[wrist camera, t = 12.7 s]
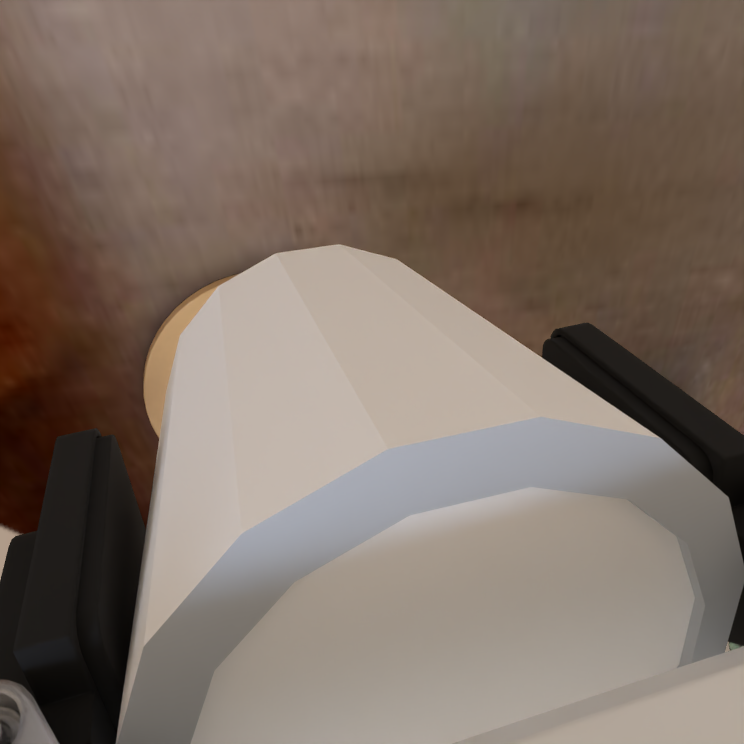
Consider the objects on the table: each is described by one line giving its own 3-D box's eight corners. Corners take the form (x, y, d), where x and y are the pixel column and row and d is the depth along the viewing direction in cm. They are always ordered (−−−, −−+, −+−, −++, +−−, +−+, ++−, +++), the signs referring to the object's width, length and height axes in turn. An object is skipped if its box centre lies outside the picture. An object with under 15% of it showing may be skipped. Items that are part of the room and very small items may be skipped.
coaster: (171, 497, 31) (171, 506, 31) (117, 291, 26) (116, 297, 26) (384, 452, 33) (388, 459, 33) (371, 252, 28) (374, 256, 28)
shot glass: (353, 119, 11) (597, 258, 5) (547, 386, 15) (822, 651, 9) (38, 392, 12) (-71, 801, 6) (298, 585, 15) (396, 958, 9)
